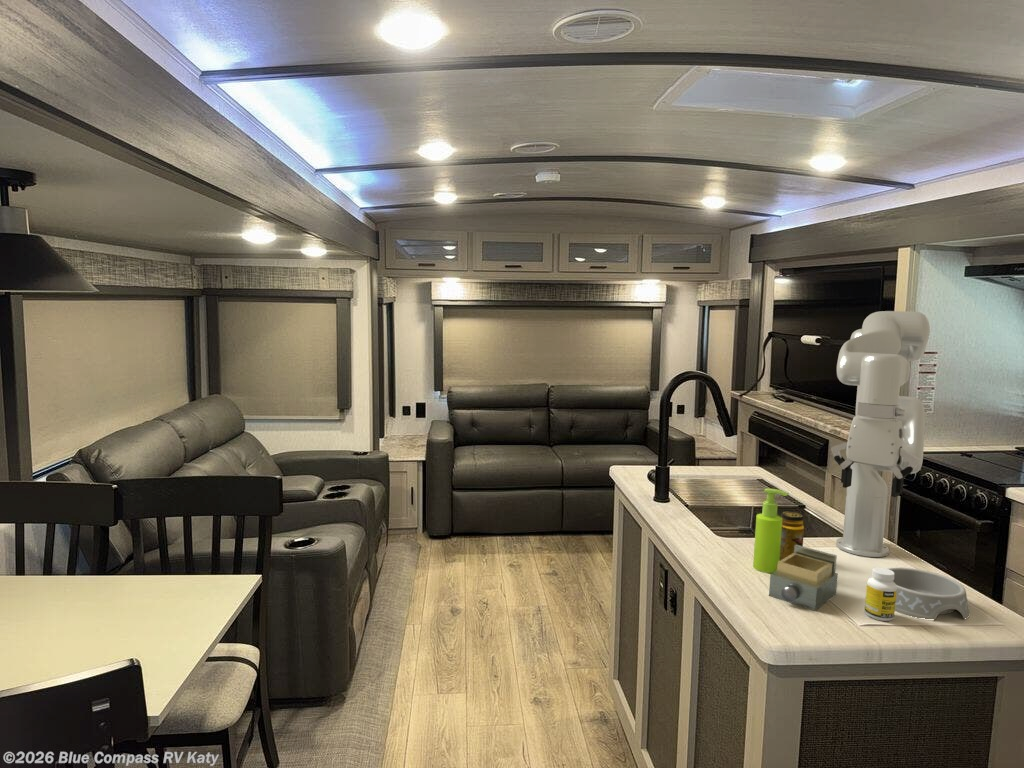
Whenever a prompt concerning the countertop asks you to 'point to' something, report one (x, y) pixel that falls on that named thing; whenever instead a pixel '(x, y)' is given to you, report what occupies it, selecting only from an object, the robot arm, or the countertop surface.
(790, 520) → the condiment
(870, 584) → the supplement bottle
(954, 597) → the dog bowl
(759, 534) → the soap dispenser
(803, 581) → the grey and tan box
